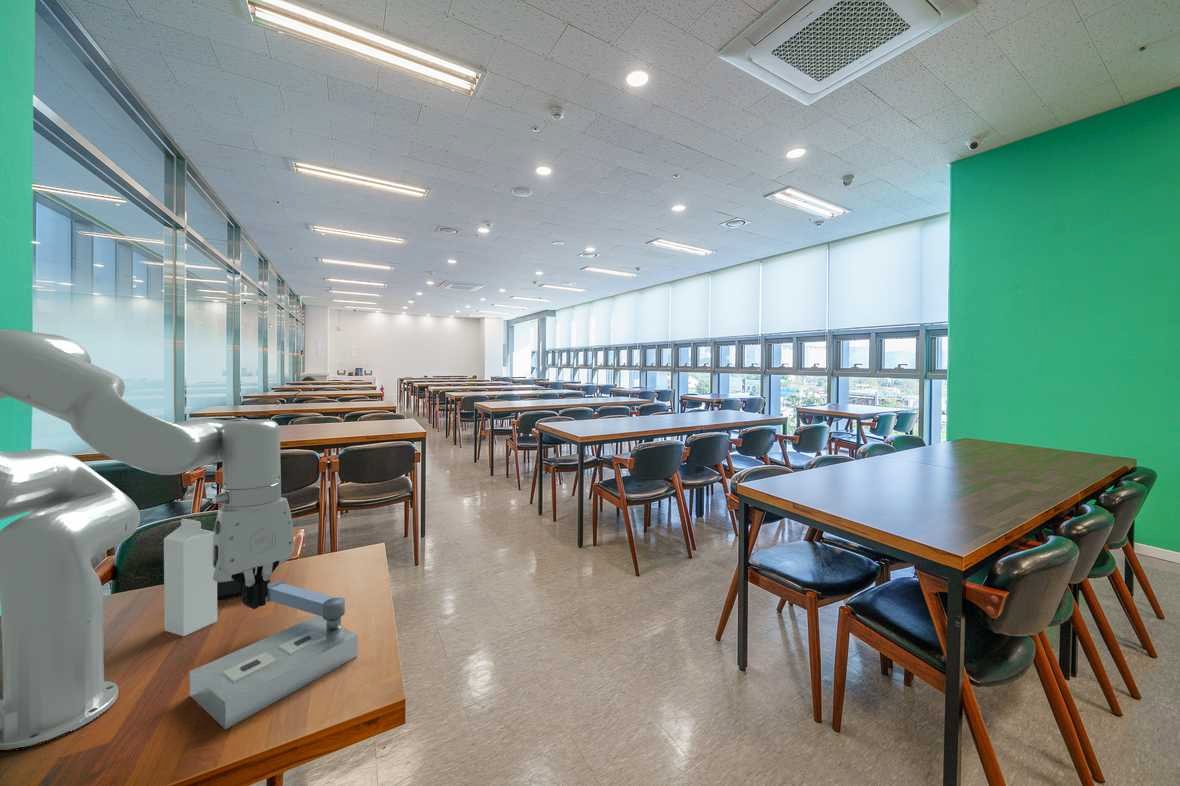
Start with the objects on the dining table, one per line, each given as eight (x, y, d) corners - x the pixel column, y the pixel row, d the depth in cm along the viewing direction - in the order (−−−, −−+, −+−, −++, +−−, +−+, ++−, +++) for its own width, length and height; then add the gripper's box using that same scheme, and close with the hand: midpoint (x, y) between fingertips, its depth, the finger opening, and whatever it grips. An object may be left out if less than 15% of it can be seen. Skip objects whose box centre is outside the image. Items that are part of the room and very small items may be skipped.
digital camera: (210, 604, 98) (210, 574, 98) (215, 594, 103) (215, 565, 103) (267, 594, 104) (267, 564, 103) (270, 584, 108) (270, 556, 108)
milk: (198, 616, 93) (198, 514, 93) (217, 621, 91) (218, 517, 91) (163, 631, 88) (163, 522, 87) (183, 637, 86) (183, 526, 85)
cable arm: (349, 613, 84) (349, 598, 84) (331, 622, 81) (332, 607, 80) (278, 592, 91) (278, 579, 91) (260, 600, 88) (260, 586, 88)
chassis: (225, 729, 64) (225, 687, 63) (189, 695, 70) (189, 658, 70) (358, 655, 81) (358, 622, 81) (320, 634, 88) (320, 603, 87)
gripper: (206, 510, 63) (209, 634, 64) (313, 488, 76) (315, 591, 77) (184, 503, 67) (187, 621, 67) (289, 483, 80) (291, 581, 80)
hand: (255, 605), depth 72 cm, fingers closed
